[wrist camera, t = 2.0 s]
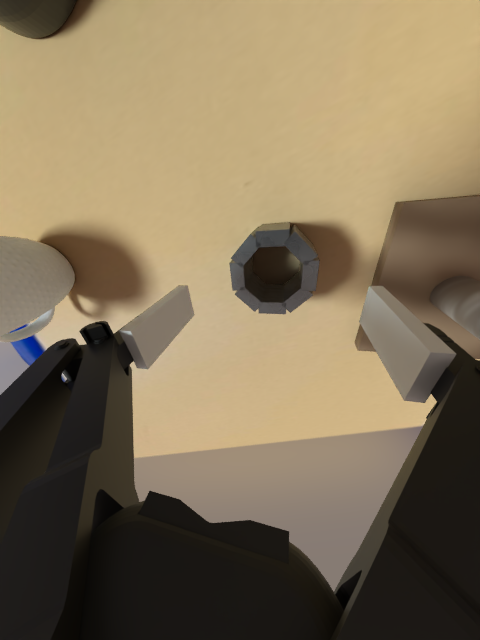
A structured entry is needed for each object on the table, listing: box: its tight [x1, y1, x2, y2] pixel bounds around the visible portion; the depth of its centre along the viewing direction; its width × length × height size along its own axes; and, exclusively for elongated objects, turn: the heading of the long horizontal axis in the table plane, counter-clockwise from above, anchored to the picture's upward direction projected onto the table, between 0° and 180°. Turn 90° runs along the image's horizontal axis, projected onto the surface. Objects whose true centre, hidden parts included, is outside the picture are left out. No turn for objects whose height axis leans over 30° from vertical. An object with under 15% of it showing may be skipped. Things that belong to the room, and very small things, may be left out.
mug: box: [0, 236, 75, 342], centre depth 25 cm, size 15×11×13 cm
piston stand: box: [355, 195, 480, 359], centre depth 16 cm, size 16×13×8 cm
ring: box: [230, 222, 320, 314], centre depth 20 cm, size 8×8×5 cm
